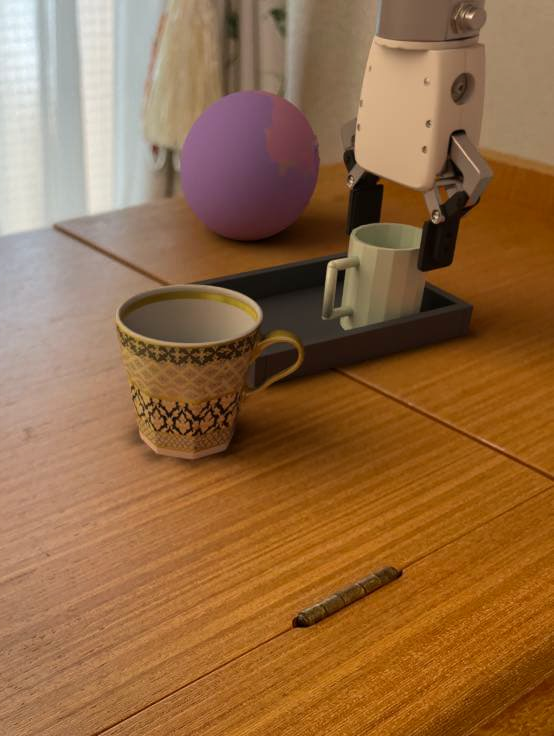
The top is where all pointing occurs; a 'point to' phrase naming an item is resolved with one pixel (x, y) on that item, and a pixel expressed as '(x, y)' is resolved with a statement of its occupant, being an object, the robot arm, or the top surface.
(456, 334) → the dark grey tray
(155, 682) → the top surface
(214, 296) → the ceramic cup
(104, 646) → the top surface
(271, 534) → the top surface
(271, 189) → the decorative ball
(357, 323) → the mug
